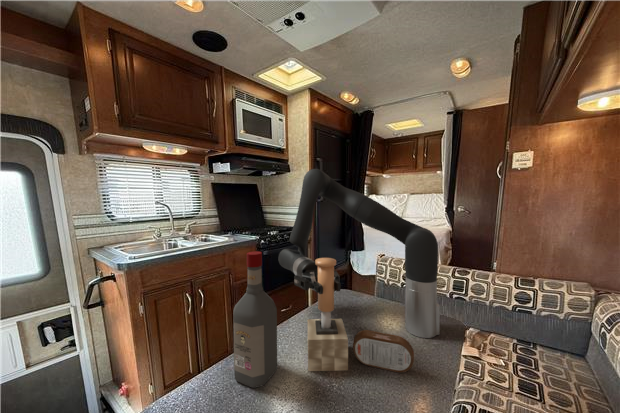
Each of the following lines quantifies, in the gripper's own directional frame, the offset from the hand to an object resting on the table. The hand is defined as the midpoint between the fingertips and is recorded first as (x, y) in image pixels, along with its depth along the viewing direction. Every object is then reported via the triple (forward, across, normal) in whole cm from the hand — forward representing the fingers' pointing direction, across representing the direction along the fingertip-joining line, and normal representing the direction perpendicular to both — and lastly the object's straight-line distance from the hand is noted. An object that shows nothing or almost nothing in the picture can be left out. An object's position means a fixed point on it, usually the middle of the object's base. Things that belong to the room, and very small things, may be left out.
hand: (330, 288), depth 61 cm
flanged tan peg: (-3, 0, +14) cm, 14 cm away
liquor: (-4, -19, +20) cm, 28 cm away
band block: (-3, 0, +20) cm, 20 cm away
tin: (+6, +12, +20) cm, 24 cm away
